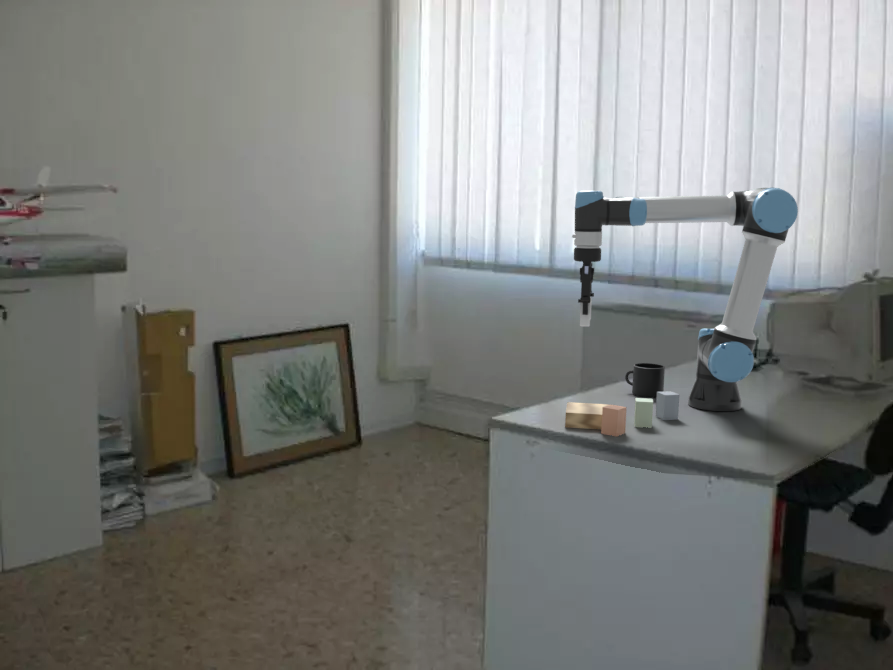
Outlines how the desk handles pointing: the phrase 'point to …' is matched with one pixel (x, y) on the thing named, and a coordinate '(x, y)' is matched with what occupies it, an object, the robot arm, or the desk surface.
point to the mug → (647, 379)
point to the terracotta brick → (613, 420)
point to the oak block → (584, 415)
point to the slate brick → (667, 405)
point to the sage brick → (643, 412)
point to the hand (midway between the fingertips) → (585, 323)
